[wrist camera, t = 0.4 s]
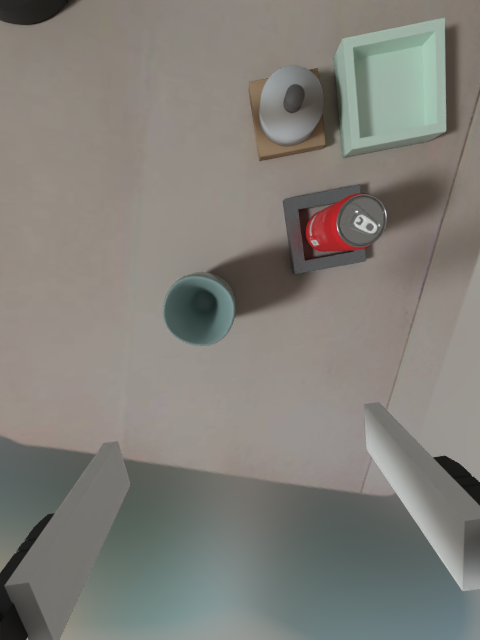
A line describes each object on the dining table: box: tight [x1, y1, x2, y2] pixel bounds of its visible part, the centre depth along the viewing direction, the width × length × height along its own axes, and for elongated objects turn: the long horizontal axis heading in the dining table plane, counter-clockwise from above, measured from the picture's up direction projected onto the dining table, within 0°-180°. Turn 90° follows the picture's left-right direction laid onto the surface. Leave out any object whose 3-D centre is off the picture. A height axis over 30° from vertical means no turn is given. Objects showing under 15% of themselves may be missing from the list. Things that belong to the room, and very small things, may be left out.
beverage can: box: [306, 193, 387, 252], centre depth 32 cm, size 5×5×12 cm
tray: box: [334, 18, 446, 158], centre depth 33 cm, size 11×11×3 cm
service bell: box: [249, 65, 325, 161], centre depth 32 cm, size 8×8×6 cm
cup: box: [163, 272, 236, 346], centre depth 35 cm, size 8×8×10 cm
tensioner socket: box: [283, 185, 366, 274], centre depth 37 cm, size 10×10×2 cm
